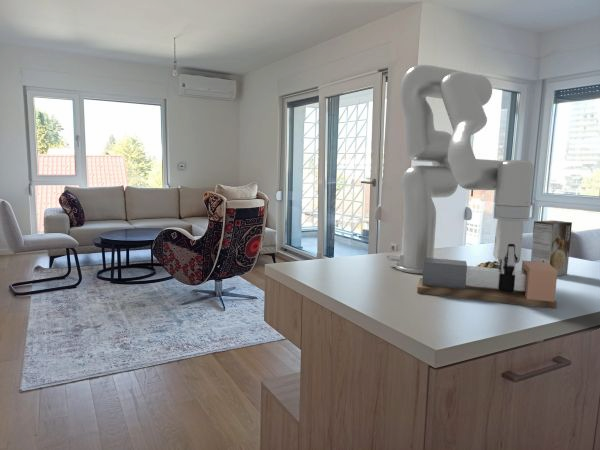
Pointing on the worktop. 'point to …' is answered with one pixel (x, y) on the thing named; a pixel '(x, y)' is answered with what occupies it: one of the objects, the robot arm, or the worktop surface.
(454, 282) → the sleeve
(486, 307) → the worktop surface
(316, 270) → the worktop surface
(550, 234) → the coffee box
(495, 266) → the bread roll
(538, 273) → the socket block
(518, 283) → the light grey bar
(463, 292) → the base board
